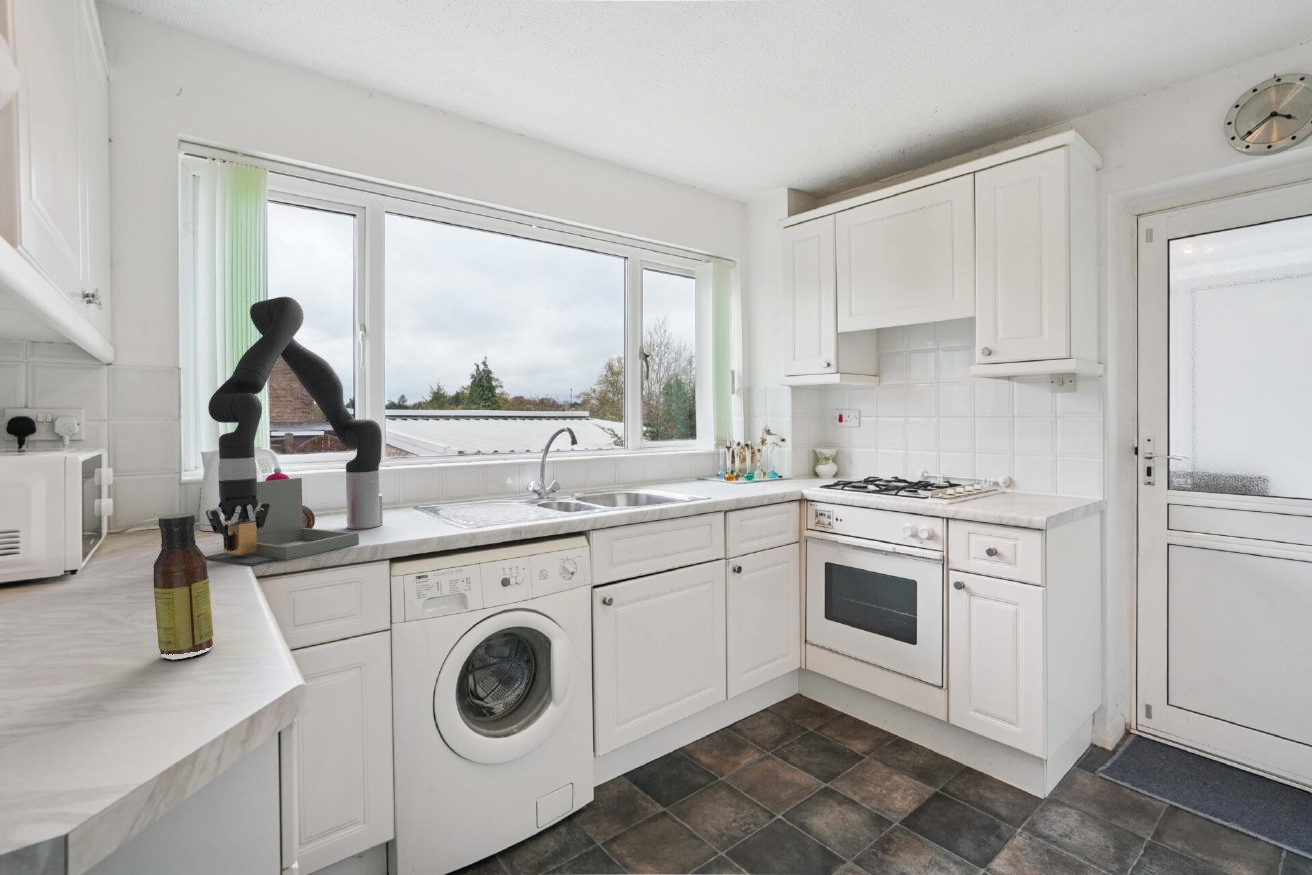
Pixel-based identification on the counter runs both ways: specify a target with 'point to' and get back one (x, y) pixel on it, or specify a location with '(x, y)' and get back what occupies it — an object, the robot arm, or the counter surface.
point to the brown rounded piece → (308, 518)
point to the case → (292, 524)
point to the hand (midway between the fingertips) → (240, 548)
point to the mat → (241, 558)
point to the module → (244, 537)
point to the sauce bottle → (181, 589)
